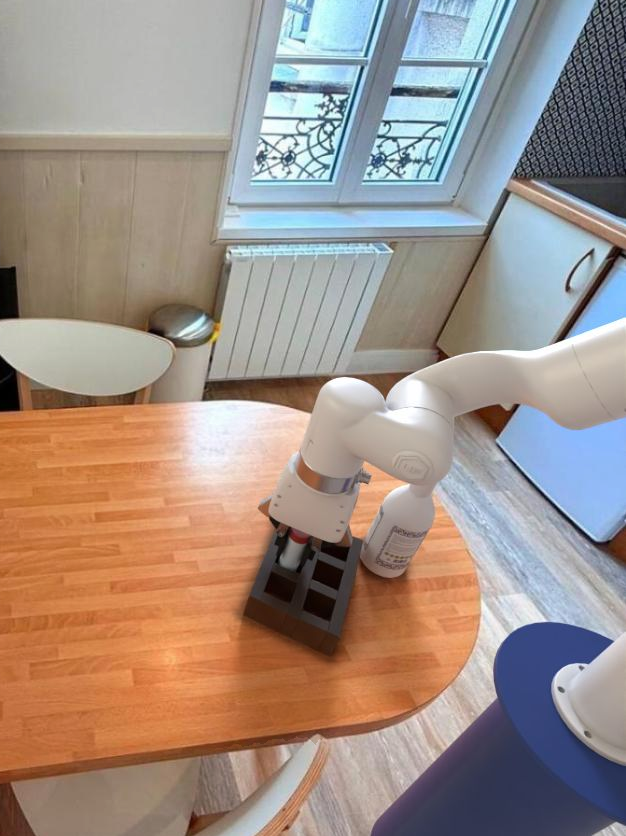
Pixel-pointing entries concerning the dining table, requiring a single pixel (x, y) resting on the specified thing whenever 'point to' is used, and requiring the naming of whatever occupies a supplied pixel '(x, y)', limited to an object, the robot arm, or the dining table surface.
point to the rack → (306, 595)
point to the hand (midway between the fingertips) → (292, 552)
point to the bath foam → (398, 529)
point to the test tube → (294, 549)
